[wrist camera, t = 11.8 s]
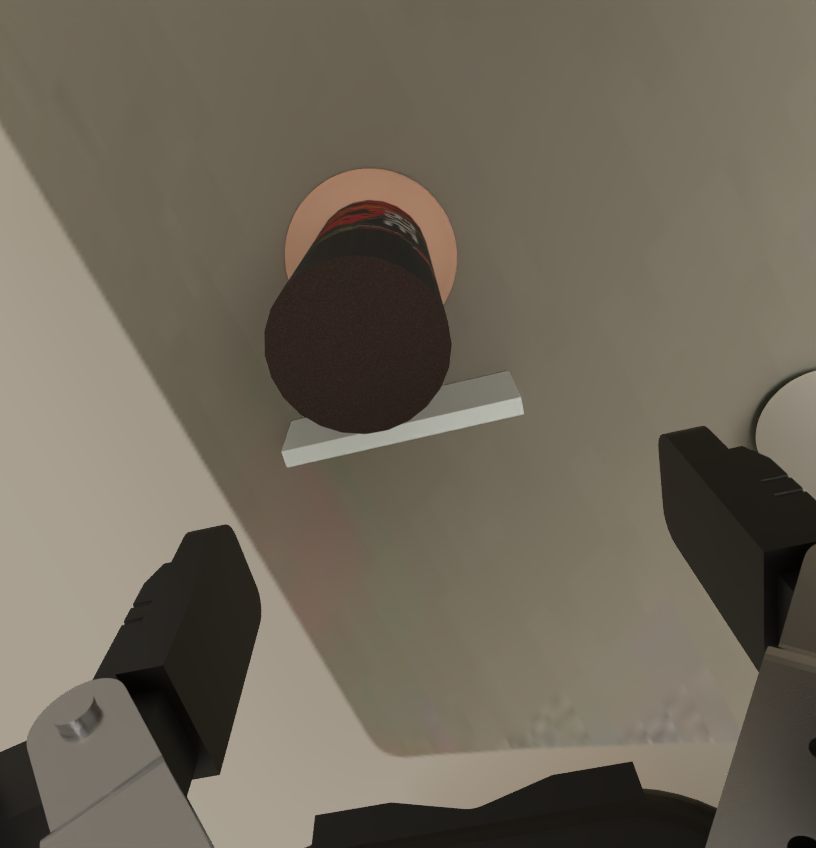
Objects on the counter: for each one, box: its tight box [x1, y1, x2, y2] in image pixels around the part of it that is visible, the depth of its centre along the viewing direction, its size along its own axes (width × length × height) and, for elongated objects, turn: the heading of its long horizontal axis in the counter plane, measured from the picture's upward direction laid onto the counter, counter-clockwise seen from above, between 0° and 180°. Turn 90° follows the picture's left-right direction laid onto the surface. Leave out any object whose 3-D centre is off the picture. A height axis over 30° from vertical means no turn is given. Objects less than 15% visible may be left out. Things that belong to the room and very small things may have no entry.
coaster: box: [285, 168, 457, 305], centre depth 35 cm, size 9×9×1 cm
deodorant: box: [265, 200, 451, 434], centre depth 28 cm, size 6×6×15 cm
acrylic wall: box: [281, 371, 524, 468], centre depth 37 cm, size 1×13×4 cm, turn 103°
